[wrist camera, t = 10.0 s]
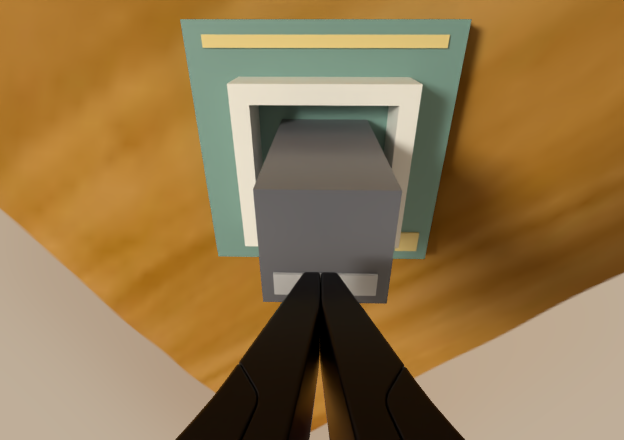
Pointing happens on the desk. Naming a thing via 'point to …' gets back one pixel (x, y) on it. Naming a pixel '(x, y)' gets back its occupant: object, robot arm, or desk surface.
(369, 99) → the socket
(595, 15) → the desk surface
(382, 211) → the plug
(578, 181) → the desk surface
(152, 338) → the desk surface
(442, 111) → the board
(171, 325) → the desk surface
